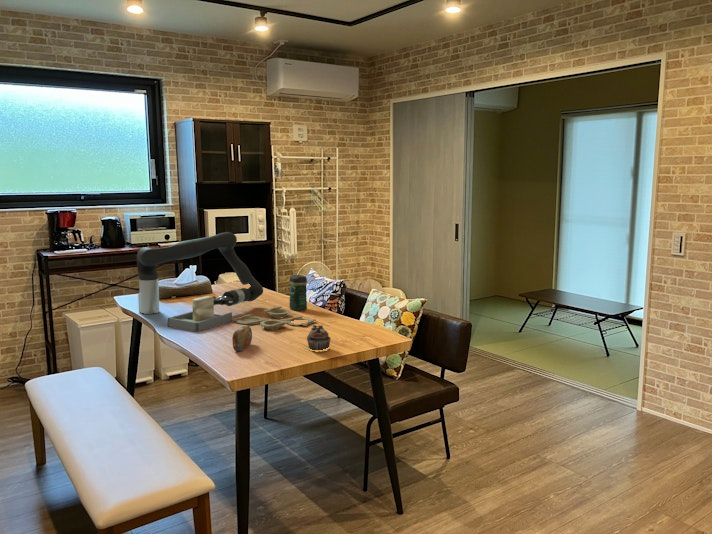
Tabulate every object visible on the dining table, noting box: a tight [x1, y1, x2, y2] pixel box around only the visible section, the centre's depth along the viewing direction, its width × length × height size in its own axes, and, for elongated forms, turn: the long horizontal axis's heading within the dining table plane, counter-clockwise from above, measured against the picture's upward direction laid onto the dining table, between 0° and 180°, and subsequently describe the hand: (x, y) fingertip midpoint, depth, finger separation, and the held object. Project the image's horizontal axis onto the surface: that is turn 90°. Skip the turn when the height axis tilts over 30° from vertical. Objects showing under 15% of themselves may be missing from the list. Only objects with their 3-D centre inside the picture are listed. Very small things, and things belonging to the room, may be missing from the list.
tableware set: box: [233, 305, 317, 331], centre depth 278 cm, size 35×29×4 cm
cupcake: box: [306, 324, 332, 350], centre depth 233 cm, size 10×10×10 cm
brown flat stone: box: [232, 325, 253, 352], centre depth 234 cm, size 15×3×8 cm, turn 168°
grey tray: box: [167, 310, 233, 333], centre depth 272 cm, size 18×24×4 cm
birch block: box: [191, 295, 215, 321], centre depth 273 cm, size 4×10×10 cm, turn 152°
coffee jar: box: [288, 274, 308, 312], centre depth 305 cm, size 10×8×19 cm
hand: (210, 303), depth 277 cm, fingers closed
